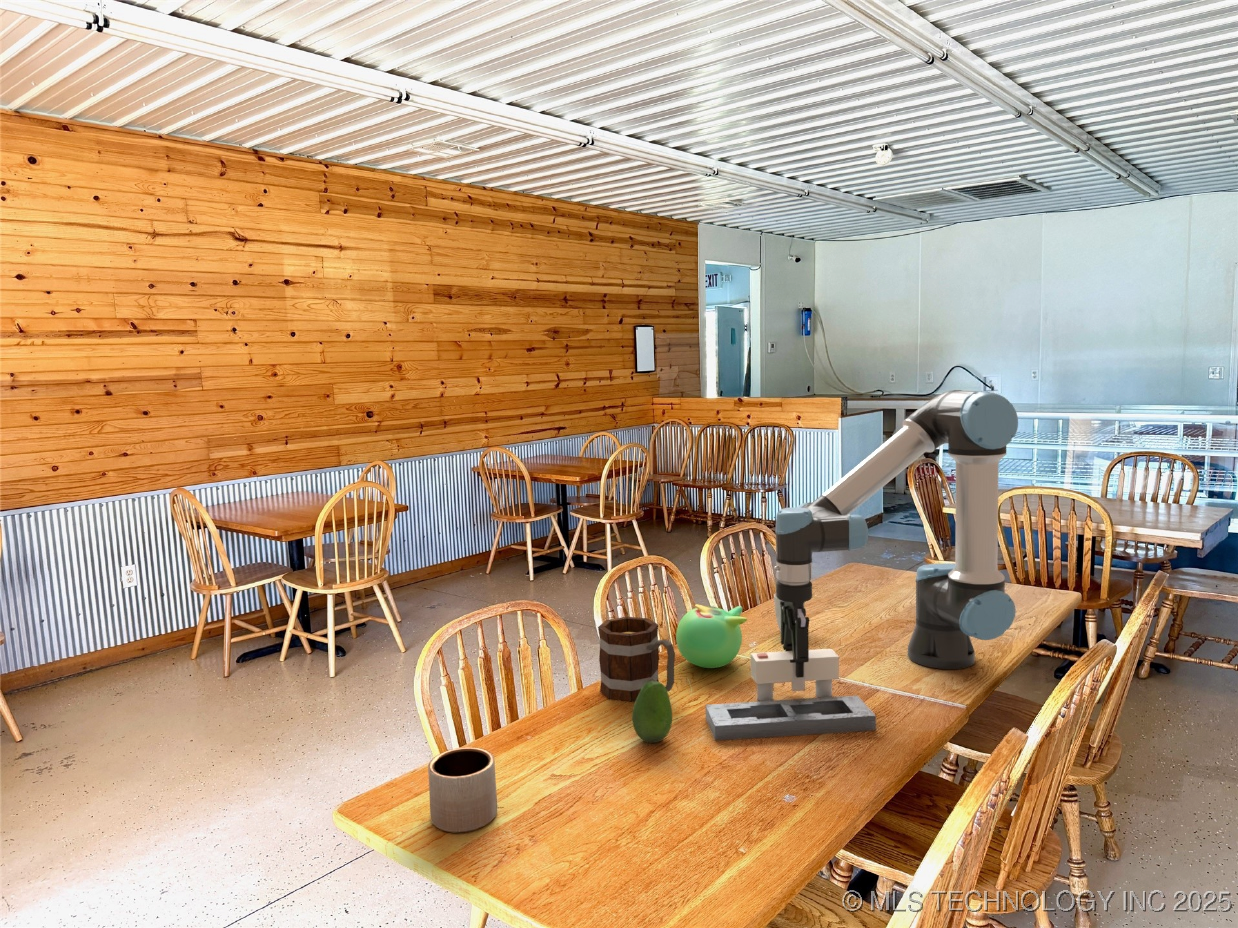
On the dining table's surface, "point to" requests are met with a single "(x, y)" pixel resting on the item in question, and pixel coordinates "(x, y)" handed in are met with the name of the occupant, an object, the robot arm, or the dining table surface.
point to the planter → (462, 789)
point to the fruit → (652, 712)
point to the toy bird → (710, 635)
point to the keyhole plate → (789, 717)
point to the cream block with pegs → (779, 670)
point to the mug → (631, 657)
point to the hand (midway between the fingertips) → (794, 684)
